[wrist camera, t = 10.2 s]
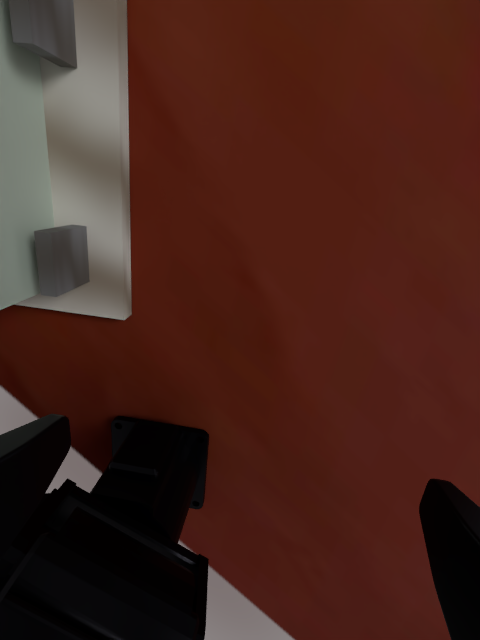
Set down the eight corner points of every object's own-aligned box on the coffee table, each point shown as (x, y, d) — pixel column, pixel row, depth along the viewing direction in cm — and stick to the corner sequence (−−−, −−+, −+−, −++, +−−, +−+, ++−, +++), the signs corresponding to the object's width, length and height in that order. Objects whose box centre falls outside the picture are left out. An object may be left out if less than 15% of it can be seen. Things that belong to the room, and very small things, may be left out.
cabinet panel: (131, 314, 21) (97, 341, 18) (-24, 292, 22) (-87, 313, 18) (125, -61, 15) (72, -141, 12) (-87, -69, 16) (-201, -146, 12)
